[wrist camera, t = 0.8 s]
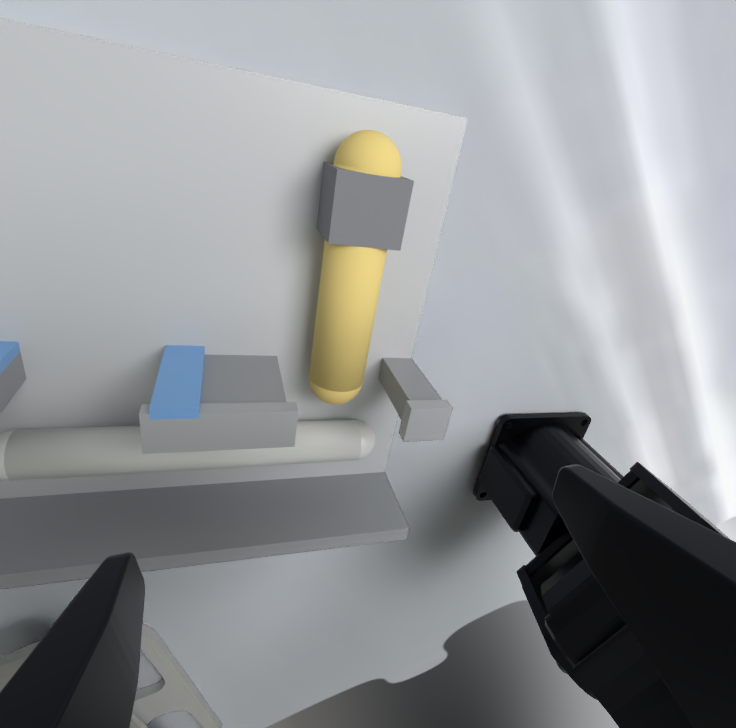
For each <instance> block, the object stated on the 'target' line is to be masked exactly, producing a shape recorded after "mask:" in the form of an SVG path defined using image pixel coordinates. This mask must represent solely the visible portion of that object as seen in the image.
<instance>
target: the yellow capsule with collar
mask: <svg viewBox="0 0 736 728" xmlns="http://www.w3.org/2000/svg"><path fill="white" fill-rule="evenodd" d="M401 168H402V166H401V158H400V154H399V151H398V149H397V147H396V145H395V144H394V143H393V142H392V140H391V139H390V138H388V137H387V136H386V135H384V134H383V133H381V132H378V131H375V130H367V129H366V130H360V131H357V132H354V133H352V134H351V135H349V136H348V137H347V138H346V139H345V140H344V141H343V142H342V143H341V144H340V146H339V148H338V150H337V152H336V154H335V159H334V163H329V162H323V171H322V181H321V190H320V200H319V209H318V218H317V229H318V231H319V232H320V233H321V235H322V236H323V237H324V239H325V242H324V251H323V260H322V268H321V277H320V285H319V294H318V302H317V311H316V320H315V328H314V337H313V345H312V354H311V363H310V371H309V383H310V387H311V389H312V391H313V393H314V394H315V395H316V396H317V397H318V398H319V399H320V400H322V401H324V402H325V403H328V404H333V405H339V404H344V403H347V402H349V401H350V400H352V399H353V398H354V397H355V396H356V395H357V394H358V393H359V391H360V389H361V387H362V384H363V379H364V374H365V368H366V363H367V357H368V352H369V346H370V341H371V335H372V330H373V324H374V319H375V313H376V308H377V302H378V297H379V291H380V286H381V281H382V275H383V270H384V264H385V259H386V253H387V249H388V250H397V251H400V250H401V245H402V240H403V235H404V230H405V225H406V220H407V215H408V210H409V204H410V199H411V194H412V189H413V184H414V181H413V180H410V179H408V178H405V177H402V176H401Z"/></svg>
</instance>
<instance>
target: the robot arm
mask: <svg viewBox="0 0 736 728" xmlns="http://www.w3.org/2000/svg"><path fill="white" fill-rule="evenodd" d="M590 422H591V418H590V417H589V416H588V415H587V414H586V413H548V414H513V415H505V416H503V417H502V418H501V419H500V420H499V423H498V425H497V428H496V431H495V433H494V436H493V439H492V442H491V444H490V447H489V450H488V453H487V455H486V458H485V461H484V464H483V466H482V469H481V472H480V475H479V477H478V480H477V483H476V486H475V488H474V491H473V494H474V496H475V497H476V499H477V500H480V501H482V500H492V501H493V502H494V504H495V505H496V507H497V508H498V510H499V511H500V513H501V514H502V516H503V517H504V519H505V520H506V522H507V523H508V524H509V526H510V527H511V529H512V530H513V531H514V532H518V531H519V532H520V534H521V535H522V537H523V538H524V540H525V541H526V542H527V544H528V545H529V547H530V548H531V550H532V551H533V553H534V554H535V555H536V557H535V558H534V559H533V560H532V561H530V562H529V563H528V564H527V565H526V566H525V565H523V566H522V567H521V568H520V569H519V570H518V571H517V574H518V577H519V579H520V581H521V584H522V588H523V590H524V593H525V595H526V597H527V600H528V602H529V604H530V607H531V609H532V611H533V614H534V616H535V618H536V620H537V623H538V625H539V627H540V630H541V632H542V634H543V636H544V639H545V641H546V643H547V646H548V648H549V651H550V653H551V655H552V656H553V658H554V659H555V660H556V663H557V665H558V666H559V668H560V669H561V670H562V671H563V672H564V673H566V674H568V675H569V676H570V677H571V678H572V679H573V680H574V681H575V682H576V684H577V685H578V686H579V687H580V688H582V689H583V690H584V691H585V692H586V693H587V694H589V695H590V696H591V697H593V698H594V699H597V700H598V701H599V702H600V703H601V704H602V705H603V707H604V708H605V709H606V710H607V712H608V713H609V714H610V715H611V717H612V718H613V719H614V721H615V722H616V724H617V725H618V726H619V728H736V542H734V541H732V540H730V539H729V538H728V537H727V536H726V535H725V534H723V533H722V532H721V531H720V530H719V529H718V528H717V527H716V526H714V525H713V524H712V523H711V522H710V521H709V520H707V519H706V518H705V517H704V516H703V515H702V514H700V513H699V512H698V511H697V510H696V509H694V508H693V507H692V506H691V505H690V504H689V503H687V502H686V501H685V500H684V499H683V498H681V497H680V496H679V495H678V494H677V493H676V492H674V491H673V490H672V489H671V488H670V487H668V486H667V485H666V484H665V483H663V482H662V481H661V480H660V479H658V478H657V477H656V476H655V475H653V474H652V473H651V472H650V471H648V470H647V469H646V468H645V467H643V466H642V465H641V464H640V463H638V462H637V463H635V464H634V465H633V466H632V467H631V468H630V470H631V471H630V472H629V473H627V474H626V475H625V476H624V477H623V476H622V475H621V474H620V473H619V472H618V471H617V470H616V469H615V468H614V467H613V466H612V465H610V464H609V463H608V462H607V461H606V460H605V459H604V458H603V457H602V456H601V455H600V454H599V453H597V452H596V451H595V450H594V449H593V448H592V447H591V446H590V445H589V444H588V443H587V442H586V441H584V440H583V437H584V435H585V433H586V431H587V428H588V426H589V424H590ZM144 597H145V584H144V579H143V576H142V573H141V571H140V568H139V565H138V563H137V560H136V557H135V555H134V554H133V553H132V552H126V553H121V554H116V555H111V556H109V557H107V558H106V559H105V560H104V561H103V562H102V563H101V564H100V566H99V567H98V568H97V570H96V571H95V572H94V573H93V575H92V576H91V577H90V578H89V580H88V581H87V582H86V583H85V585H84V586H83V587H82V589H81V590H80V591H79V592H78V594H77V595H76V596H75V597H74V599H73V600H72V601H71V602H70V604H69V605H68V606H67V608H66V609H65V610H64V611H63V613H62V614H61V615H60V616H59V618H58V619H57V620H56V621H55V623H54V624H53V625H52V627H51V628H50V629H49V630H48V632H47V633H46V634H45V635H44V637H43V638H42V639H41V640H40V642H39V643H38V644H37V646H36V647H35V648H34V649H33V651H32V652H31V653H30V654H29V656H28V657H27V658H26V660H25V661H24V662H23V663H22V665H21V666H20V667H19V668H18V670H17V671H16V672H15V673H14V675H13V676H12V677H11V679H10V680H9V681H8V682H7V684H6V685H5V686H4V687H3V689H2V690H1V691H0V728H130V723H131V717H132V712H133V706H134V701H135V696H136V689H137V683H138V674H139V662H140V649H141V636H142V623H143V610H144Z"/></svg>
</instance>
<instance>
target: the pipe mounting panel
mask: <svg viewBox="0 0 736 728" xmlns="http://www.w3.org/2000/svg"><path fill="white" fill-rule="evenodd" d="M467 120H468V118H464V117H460V116H455V115H450V114H446V113H441V112H436V111H432V110H427V109H422V108H418V107H413V106H408V105H404V104H399V103H394V102H390V101H385V100H380V99H376V98H371V97H366V96H362V95H357V94H352V93H348V92H343V91H338V90H334V89H329V88H324V87H320V86H315V85H310V84H306V83H301V82H296V81H292V80H287V79H282V78H278V77H273V76H268V75H264V74H259V73H254V72H250V71H245V70H240V69H236V68H231V67H226V66H222V65H217V64H212V63H208V62H203V61H198V60H194V59H189V58H184V57H180V56H175V55H170V54H166V53H161V52H156V51H152V50H147V49H142V48H138V47H133V46H128V45H124V44H119V43H114V42H110V41H105V40H100V39H96V38H91V37H86V36H82V35H77V34H72V33H68V32H63V31H58V30H54V29H49V28H44V27H40V26H35V25H30V24H26V23H21V22H16V21H12V20H7V19H2V18H0V589H7V588H15V587H23V586H31V585H40V584H48V583H56V582H64V581H72V580H80V579H88V578H90V577H91V576H92V575H93V573H94V572H95V571H96V570H97V568H98V567H99V566H100V564H101V563H102V562H103V561H104V560H105V559H106V558H107V557H109V556H111V555H116V554H121V553H126V552H132V553H133V554H134V555H135V557H136V560H137V563H138V565H139V568H140V571H141V572H145V571H154V570H162V569H170V568H178V567H186V566H194V565H202V564H211V563H219V562H227V561H235V560H243V559H251V558H259V557H268V556H276V555H284V554H292V553H300V552H308V551H316V550H325V549H333V548H341V547H349V546H357V545H365V544H373V543H382V542H390V541H398V540H406V538H407V535H408V531H409V526H408V524H407V522H406V519H405V517H404V515H403V512H402V510H401V508H400V506H399V503H398V501H397V499H396V496H395V494H394V492H393V490H392V487H391V485H390V483H389V480H388V478H387V476H386V474H385V469H386V465H387V461H388V456H389V452H390V448H391V443H392V439H393V435H394V431H395V426H396V422H397V418H398V415H399V416H400V418H401V420H402V421H401V425H400V429H399V434H400V436H401V438H402V440H403V442H408V441H430V440H443V439H444V436H445V433H446V430H447V426H448V423H449V420H450V416H451V413H452V410H453V407H452V406H451V405H450V403H449V402H448V401H447V400H442V398H441V397H440V396H439V394H438V393H437V392H436V390H435V389H434V388H433V386H432V385H431V384H430V382H429V381H428V380H427V378H426V377H425V376H424V374H423V373H422V372H421V370H420V369H419V368H418V366H417V365H416V364H415V362H414V361H413V360H412V354H413V350H414V346H415V341H416V337H417V333H418V329H419V324H420V320H421V316H422V312H423V307H424V303H425V299H426V294H427V290H428V286H429V282H430V277H431V273H432V269H433V265H434V260H435V256H436V252H437V248H438V243H439V239H440V235H441V231H442V226H443V222H444V218H445V214H446V209H447V205H448V201H449V197H450V192H451V188H452V184H453V180H454V175H455V171H456V167H457V163H458V158H459V154H460V150H461V145H462V141H463V137H464V133H465V128H466V124H467ZM366 129H367V130H375V131H378V132H381V133H383V134H384V135H386V136H387V137H388V138H390V139H391V140H392V142H393V143H394V144H395V145H396V147H397V149H398V151H399V154H400V158H401V166H402V168H401V176H402V177H405V178H408V179H410V180H413V181H414V184H413V189H412V194H411V199H410V204H409V210H408V215H407V220H406V225H405V230H404V235H403V240H402V245H401V250H400V251H397V250H388V249H387V253H386V259H385V264H384V270H383V275H382V281H381V286H380V291H379V297H378V302H377V308H376V313H375V319H374V324H373V330H372V335H371V341H370V346H369V352H368V357H367V363H366V368H365V374H364V379H363V384H362V387H361V389H360V391H359V393H358V394H357V395H356V396H355V397H354V398H353V399H352V400H350V401H349V402H347V403H344V404H339V405H333V404H328V403H325V402H324V401H322V400H320V399H319V398H318V397H317V396H316V395H315V394H314V393H313V391H312V389H311V387H310V383H309V371H310V363H311V354H312V345H313V337H314V328H315V320H316V311H317V302H318V294H319V285H320V277H321V268H322V260H323V251H324V242H325V239H324V237H323V236H322V235H321V233H320V232H319V231H318V229H317V218H318V209H319V200H320V190H321V181H322V171H323V162H329V163H334V159H335V154H336V152H337V150H338V148H339V146H340V144H341V143H342V142H343V141H344V140H345V139H346V138H347V137H348V136H349V135H351V134H352V133H354V132H357V131H360V130H366Z"/></svg>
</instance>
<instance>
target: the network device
mask: <svg viewBox="0 0 736 728" xmlns="http://www.w3.org/2000/svg"><path fill="white" fill-rule="evenodd" d="M39 642H40V641H39ZM39 642H35V643H32V644H30V645H27V646H25V647H22V648H20V649H18V650H16V651H14V652H11V653H8V654H5V655H2V656H0V691H1V690H2V689H3V687H4V686H5V685H6V684H7V682H8V681H9V680H10V679H11V677H12V676H13V675H14V673H15V672H16V671H17V670H18V668H19V667H20V666H21V665H22V663H23V662H24V661H25V660H26V658H27V657H28V656H29V654H30V653H31V652H32V651H33V649H34V648H35V647H36V646H37V644H38V643H39ZM141 650H142V652H143V653H144V654H145V655H146V657H147V658H148V659H149V661H150V662H151V663H152V664H153V666H154V667H155V668H156V670H157V671H158V672H159V673H160V675H161V676H162V677H163V679H162V680H161V681H159V682H157V683H155V684H153V685H150V686H147V687H144V688H141V689H138V690H136V696H135V701H134V706H133V712H132V717H131V723H130V728H148V727H147V725H148V723H149V722H150V721H151V720H152V719H154V718H156V717H158V716H161V715H163V714H166V713H169V712H173V711H187V712H190V713H191V714H192V715H193V717H194V718H195V719H196V721H197V722H198V723H199V724H200V726H201V727H202V728H222V723H221V721H220V719H219V718H218V716H217V715H216V714H215V712H214V711H213V709H212V708H211V707H210V705H209V704H208V702H207V701H206V700H205V698H204V697H203V695H202V694H201V693H200V691H199V690H198V688H197V687H196V686H195V684H194V683H193V681H192V680H191V679H190V677H189V676H188V674H187V673H186V672H185V670H184V669H183V667H182V666H181V665H180V663H179V662H178V660H177V659H176V658H175V656H174V655H173V653H172V652H171V651H170V649H169V648H168V646H167V645H166V644H165V642H164V641H163V639H162V638H161V637H160V635H159V634H158V633H157V632H156V631H155V630H154V629H153V628H151V627H149V626H147V625H144V624H142V636H141Z"/></svg>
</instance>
